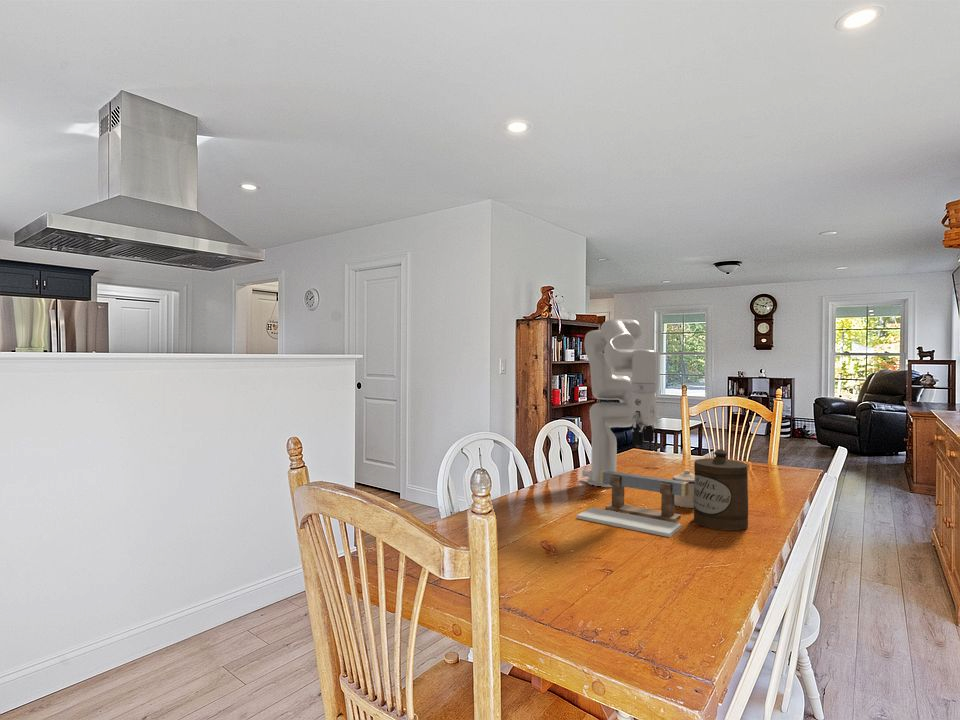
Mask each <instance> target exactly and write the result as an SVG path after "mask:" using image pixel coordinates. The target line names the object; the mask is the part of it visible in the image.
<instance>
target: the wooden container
mask: <svg viewBox="0 0 960 720" xmlns="http://www.w3.org/2000/svg"><path fill="white" fill-rule="evenodd" d="M713 454H714V457H713V458H699V459H698V458H697V459H695V460H694V463H693V464H694V465H693V466H694V467H693V468H694V475H695V480H694V508H693V521H694V522H695V523H696V524H698V525H699V526H702V527H705V528H708V529H712V530H713V529H714V530H718V531H727V532H728V531H729V532H730V531H731V532H733V531H742V530H745V529H747V528H748V527H749V483H748V482H749V481H748V479H749V477H748V476H749V475H748V474H749V473H748V470H749V469H748V463H745V462H744V461H740V460H739V461H738V460H733V459H728V458H727V457H726V456H727V455H728V453H727V451H726V450H724V449H722V448H721V449H717V450H715V451H714V453H713Z"/></svg>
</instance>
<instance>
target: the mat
mask: <svg viewBox="0 0 960 720" xmlns="http://www.w3.org/2000/svg"><path fill="white" fill-rule="evenodd" d="M576 519H578V520H584V521H588V522H593V523H597V524H598V523H599V524H603V525H608V526H613V527H617V528H623V529H626V530H627V529H628V530H633V531H636V532H637V531H638V532H642V533H647V534H651V535H658V536H660V537H661V536H662V537H666V538H671V537H672V536H674V534H675V533H677V532H678V531H679V530H680V529H682V527H683V526H682V523H679V522H669V521H664V520H659V519H653V518H648V517H643V516H637V515H632V514H627V513H621V512H616V511H611V510H605V508H599V507H594V506H593V507H589V508H588V509H586V510H584V511H582V512H580V513H577V514H576Z"/></svg>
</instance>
